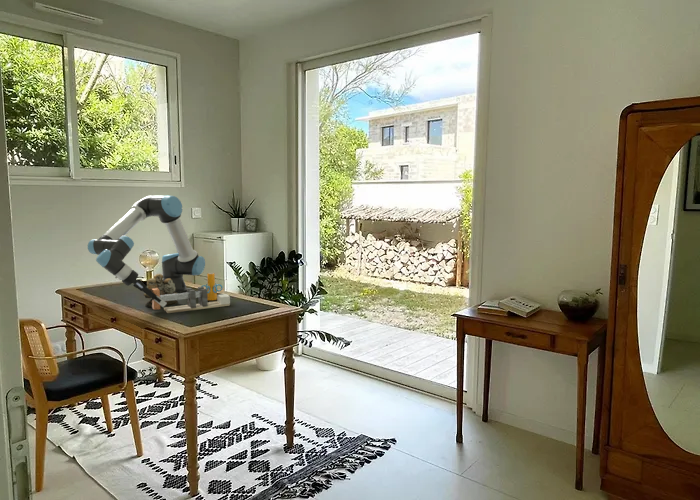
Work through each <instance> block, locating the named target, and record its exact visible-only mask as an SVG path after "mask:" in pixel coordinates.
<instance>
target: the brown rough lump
mask: <svg viewBox="0 0 700 500" xmlns="http://www.w3.org/2000/svg"><path fill="white" fill-rule="evenodd" d="M146 287H147V288H148V289H150V290H151V291H152V289H154V288H158V289H159V290H160V295H167V294H176V293H174V292H175V284H174V283H173V281H172V280H171V279H169V278H168V279H166V280H164V281H163V274H161V273H157V274H155V275H154V276H153V277H152V278H149V279H147V282H146ZM143 296H144V297H145V299H150V300H149V301H147V302H146V303H145V304H144V305H145V307H147V308H152V298H151V297H149V296H148V295H147V294H146V293H143ZM178 301H179V300H172V301H165V302H166V303H167V304H166V305H165V306H164V307H162V306H161V305H160V308H165V307H172V306H176V305H177V304H178V303H179V302H178ZM152 309H153V308H152Z"/></svg>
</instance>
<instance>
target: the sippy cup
mask: <svg viewBox="0 0 700 500" xmlns="http://www.w3.org/2000/svg"><path fill="white" fill-rule="evenodd" d="M206 275H207V277H206V278H207V280H206V281H207V283H206V284H202V285H201V286H200V287H204V288H205V289H207V301H209V302H213V301H218V300H217V295H218V292H221V291H222V290H223V285H222V284H220V283H218V284H217V283H216V278H215V275H216V274H215V273H214V272H209V273H206ZM218 286H219V287H220V289H218Z"/></svg>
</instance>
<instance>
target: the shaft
mask: <svg viewBox="0 0 700 500" xmlns="http://www.w3.org/2000/svg"><path fill="white" fill-rule="evenodd" d="M152 292H153V293H154V294H156V295H157V296H159V297H160V298H161V299H162V300H164V301H172V300H177V301H180V300H187V299H189V298H190V292H187V291H185V292H177V293H176V294H167V295H160V290H159V289H158V288H154V289H152ZM195 292H196V299H198V297H202V296H201V291H198V290H195ZM152 310H154V311H155V310H157V311H158V310H161V307H160V305H159V304H158V303H157V302H156V301H154V300H152Z"/></svg>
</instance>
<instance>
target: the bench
mask: <svg viewBox="0 0 700 500" xmlns="http://www.w3.org/2000/svg"><path fill="white" fill-rule="evenodd" d="M197 287H198V286H197ZM195 291H196V290H195V289H193V288H192V287H186V292H190V298H189V299H186V303H187V304H185V305H184V304H183V305H173V306H165V307H163V310H164V311H165V312H166V313H167V314H171V313H172V314H173V313H181V312H189V311H197V310H204V309H213V308H219V307H220V308H221V307H228V306H230V305H231V303H230V304H222V305H221V304H219V303H218V300H215V301H209V300H207V289H206V288H205V286H204V287H201V286H199V287H198V288H197V291H201V296H202V297H198V298H196V292H195ZM197 299H198V303H197V301H196V300H197ZM208 301H209V302H208Z"/></svg>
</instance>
